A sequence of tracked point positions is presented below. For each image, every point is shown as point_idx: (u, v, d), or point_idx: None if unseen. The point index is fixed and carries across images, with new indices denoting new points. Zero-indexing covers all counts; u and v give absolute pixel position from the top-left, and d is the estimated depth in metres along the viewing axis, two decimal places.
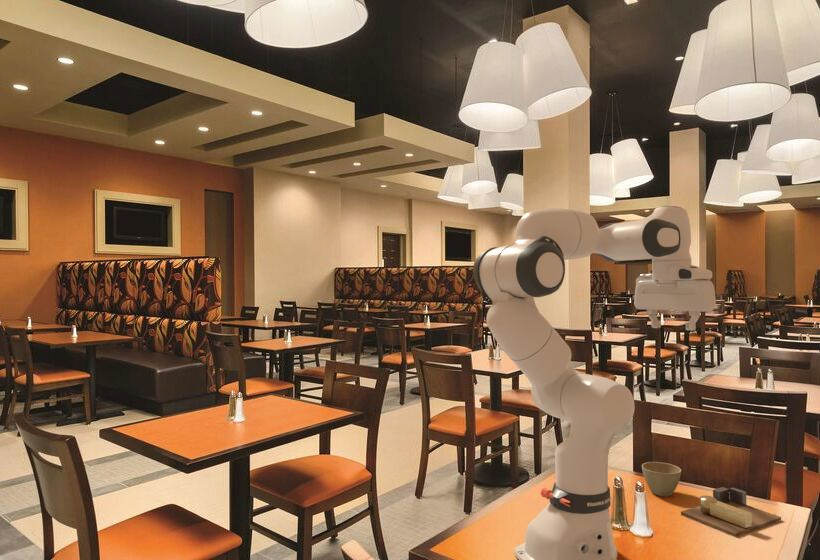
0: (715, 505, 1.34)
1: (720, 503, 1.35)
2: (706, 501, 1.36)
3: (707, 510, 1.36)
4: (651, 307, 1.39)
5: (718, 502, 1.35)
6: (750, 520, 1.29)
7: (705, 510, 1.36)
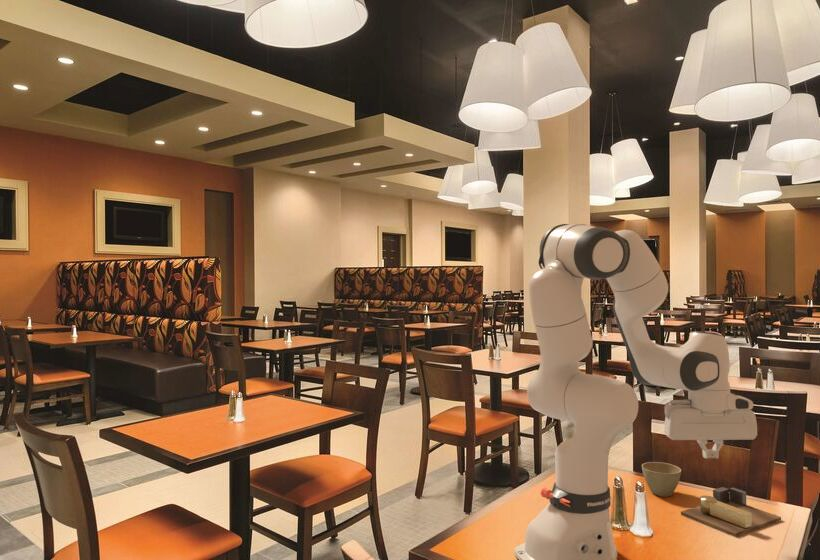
0: (715, 505, 1.34)
1: (720, 503, 1.35)
2: (706, 501, 1.36)
3: (707, 510, 1.36)
4: (693, 437, 1.29)
5: (718, 502, 1.35)
6: (750, 520, 1.29)
7: (705, 510, 1.36)
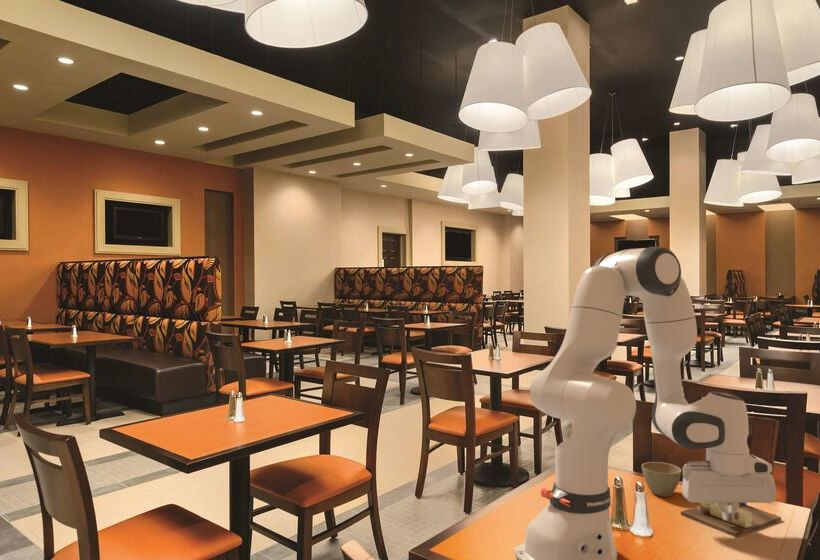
0: (715, 505, 1.34)
1: None
2: None
3: (707, 510, 1.36)
4: (712, 500, 1.29)
5: None
6: (750, 520, 1.29)
7: (705, 510, 1.36)
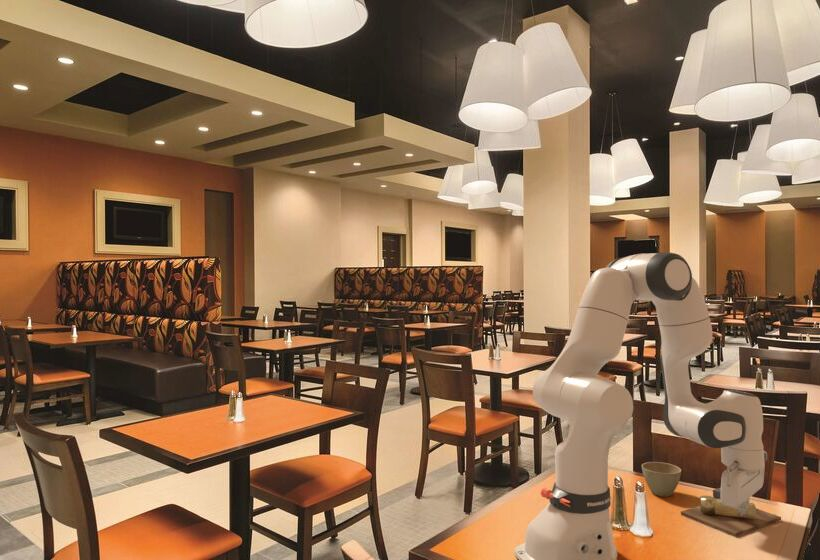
0: (721, 504, 1.35)
1: None
2: (712, 502, 1.36)
3: (713, 510, 1.36)
4: (744, 500, 1.28)
5: (718, 500, 1.37)
6: None
7: (711, 511, 1.36)
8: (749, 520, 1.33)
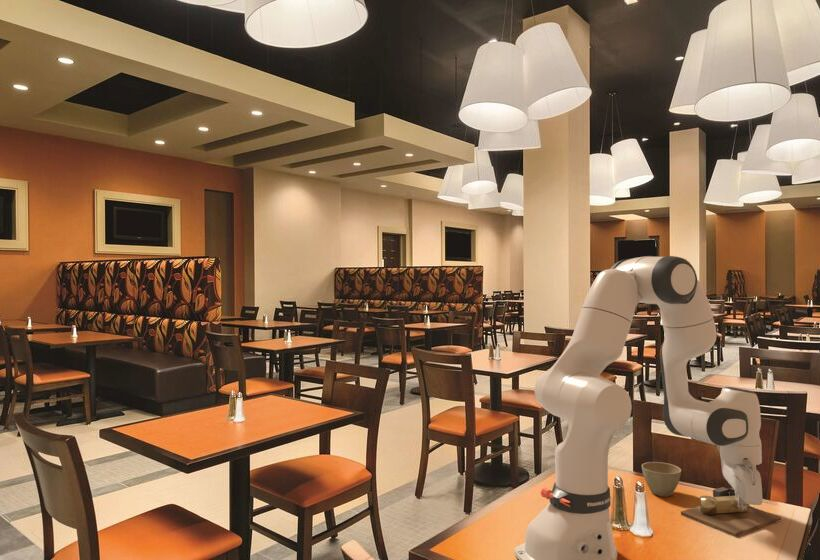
0: (721, 501, 1.36)
1: (718, 498, 1.38)
2: (715, 501, 1.36)
3: (715, 510, 1.36)
4: None
5: (716, 498, 1.38)
6: None
7: (714, 511, 1.36)
8: (749, 520, 1.33)
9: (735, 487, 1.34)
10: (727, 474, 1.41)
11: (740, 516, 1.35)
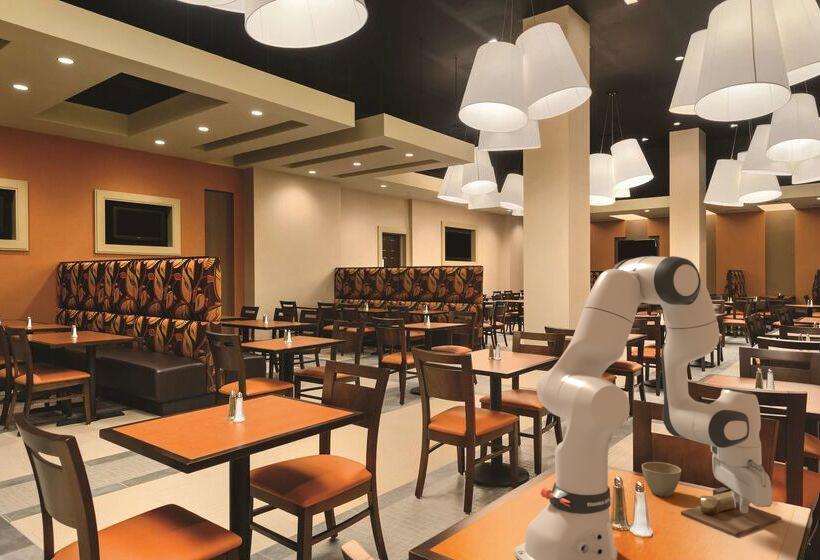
0: (720, 500, 1.37)
1: (715, 496, 1.39)
2: (716, 501, 1.36)
3: (716, 509, 1.36)
4: None
5: (713, 497, 1.39)
6: None
7: (715, 510, 1.36)
8: (749, 520, 1.33)
9: (738, 489, 1.34)
10: (722, 476, 1.41)
11: (740, 516, 1.35)
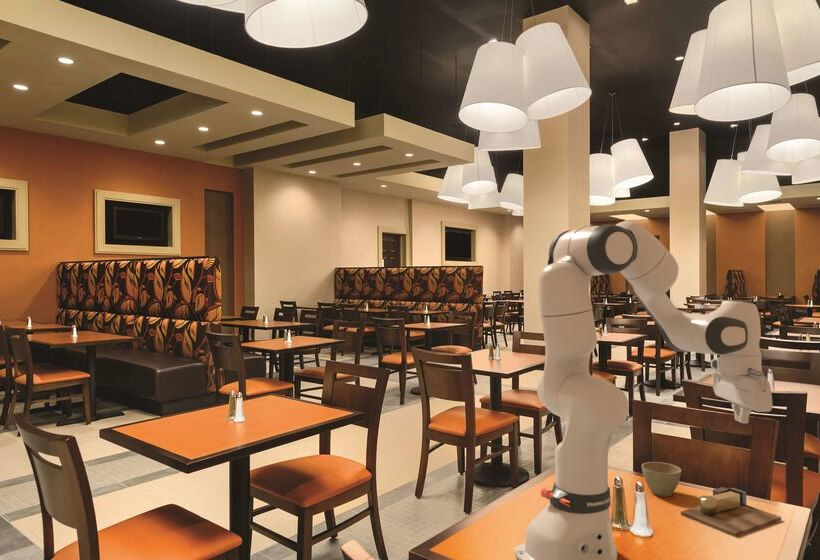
0: (720, 500, 1.37)
1: (715, 496, 1.39)
2: (716, 501, 1.36)
3: (716, 509, 1.36)
4: None
5: (713, 497, 1.39)
6: None
7: (715, 510, 1.36)
8: (749, 520, 1.33)
9: (738, 399, 1.33)
10: (723, 390, 1.40)
11: (740, 516, 1.35)
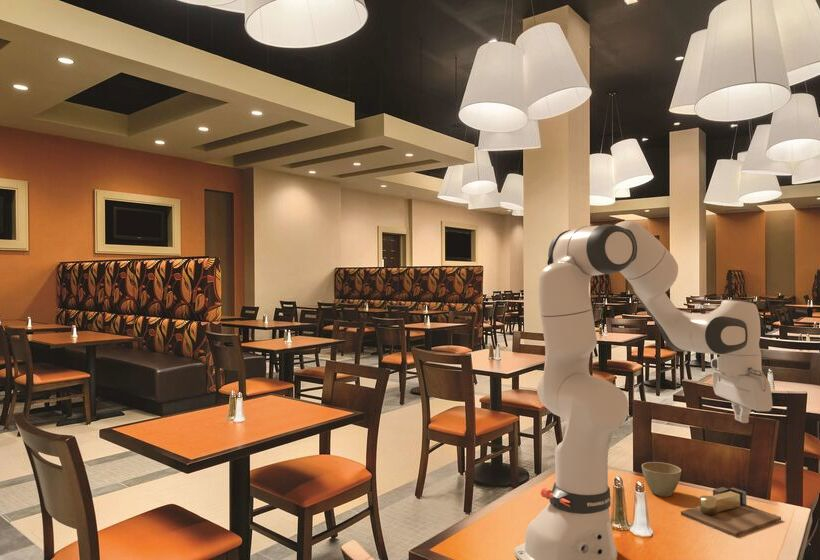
0: (720, 500, 1.37)
1: (715, 496, 1.39)
2: (716, 501, 1.36)
3: (716, 509, 1.36)
4: None
5: (713, 497, 1.39)
6: None
7: (715, 510, 1.36)
8: (749, 520, 1.33)
9: (738, 399, 1.33)
10: (723, 390, 1.40)
11: (740, 516, 1.35)
